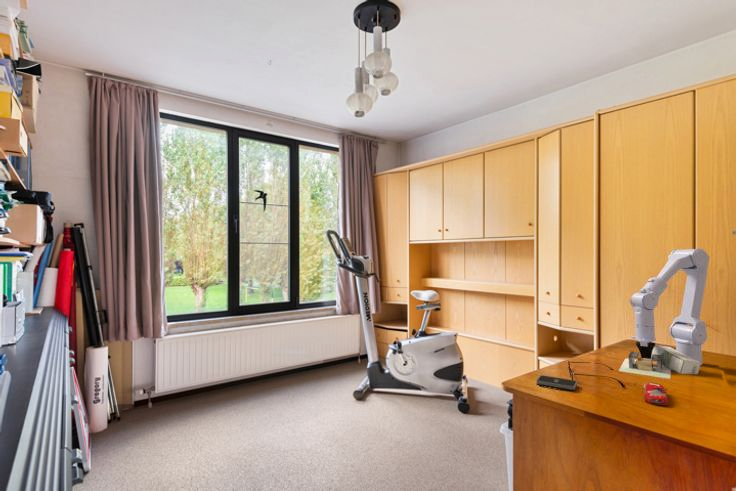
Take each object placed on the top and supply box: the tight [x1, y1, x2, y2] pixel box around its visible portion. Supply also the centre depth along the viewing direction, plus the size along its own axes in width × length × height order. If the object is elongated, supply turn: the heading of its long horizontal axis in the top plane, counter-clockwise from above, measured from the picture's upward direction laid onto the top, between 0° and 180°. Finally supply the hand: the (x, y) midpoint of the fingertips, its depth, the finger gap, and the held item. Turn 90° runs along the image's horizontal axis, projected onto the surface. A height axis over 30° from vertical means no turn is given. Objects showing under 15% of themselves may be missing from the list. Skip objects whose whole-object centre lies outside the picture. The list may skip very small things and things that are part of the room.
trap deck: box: [618, 358, 672, 380], centre depth 132 cm, size 20×14×2 cm
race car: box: [643, 382, 669, 406], centre depth 107 cm, size 13×5×4 cm, turn 144°
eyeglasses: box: [567, 360, 626, 388], centre depth 126 cm, size 16×16×4 cm
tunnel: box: [628, 351, 662, 373], centre depth 132 cm, size 8×9×4 cm
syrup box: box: [651, 344, 701, 375], centre depth 131 cm, size 6×6×14 cm
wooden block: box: [637, 357, 654, 371], centre depth 131 cm, size 5×4×3 cm
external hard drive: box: [536, 374, 578, 393], centre depth 119 cm, size 7×11×2 cm, turn 53°
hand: (646, 362), depth 135 cm, fingers closed
